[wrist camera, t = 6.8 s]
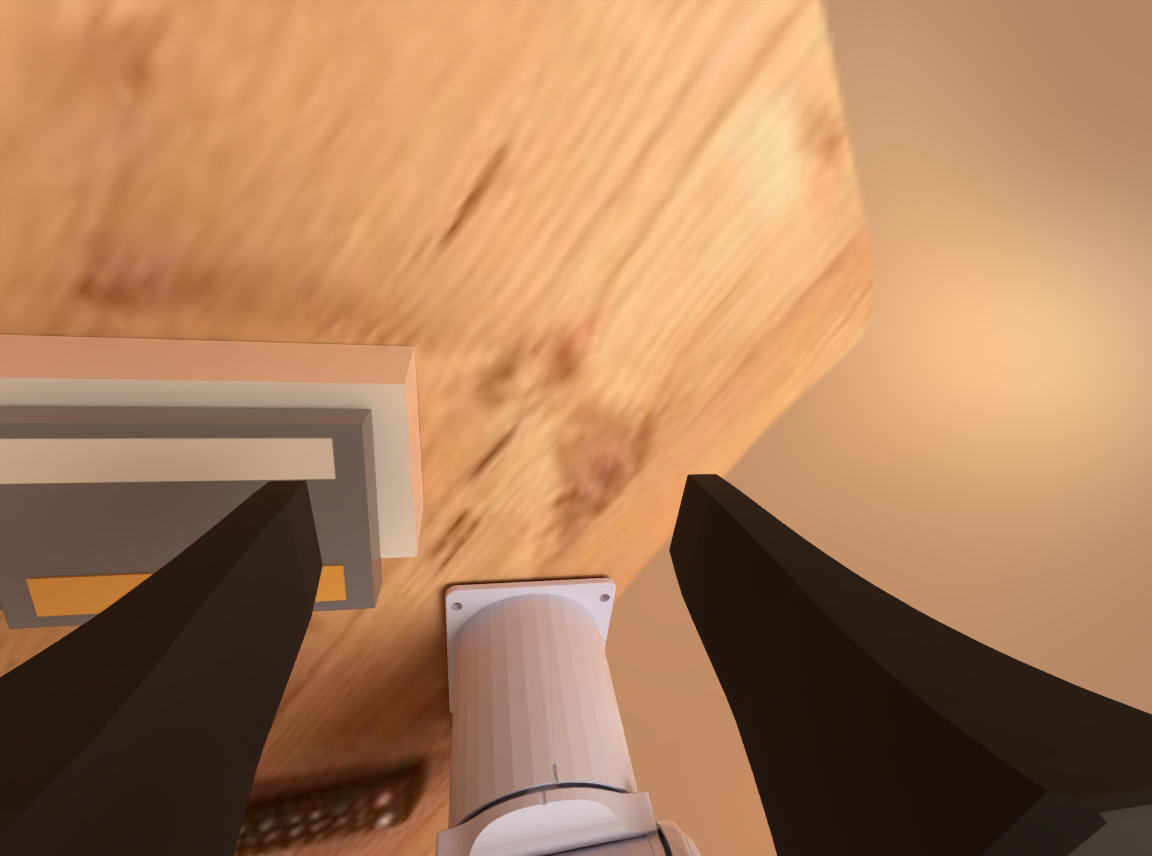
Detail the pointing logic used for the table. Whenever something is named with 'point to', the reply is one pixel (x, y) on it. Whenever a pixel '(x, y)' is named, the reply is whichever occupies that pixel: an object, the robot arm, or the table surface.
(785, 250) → the table surface
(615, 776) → the robot arm
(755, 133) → the table surface
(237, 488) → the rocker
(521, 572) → the table surface
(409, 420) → the power strip
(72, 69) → the table surface
